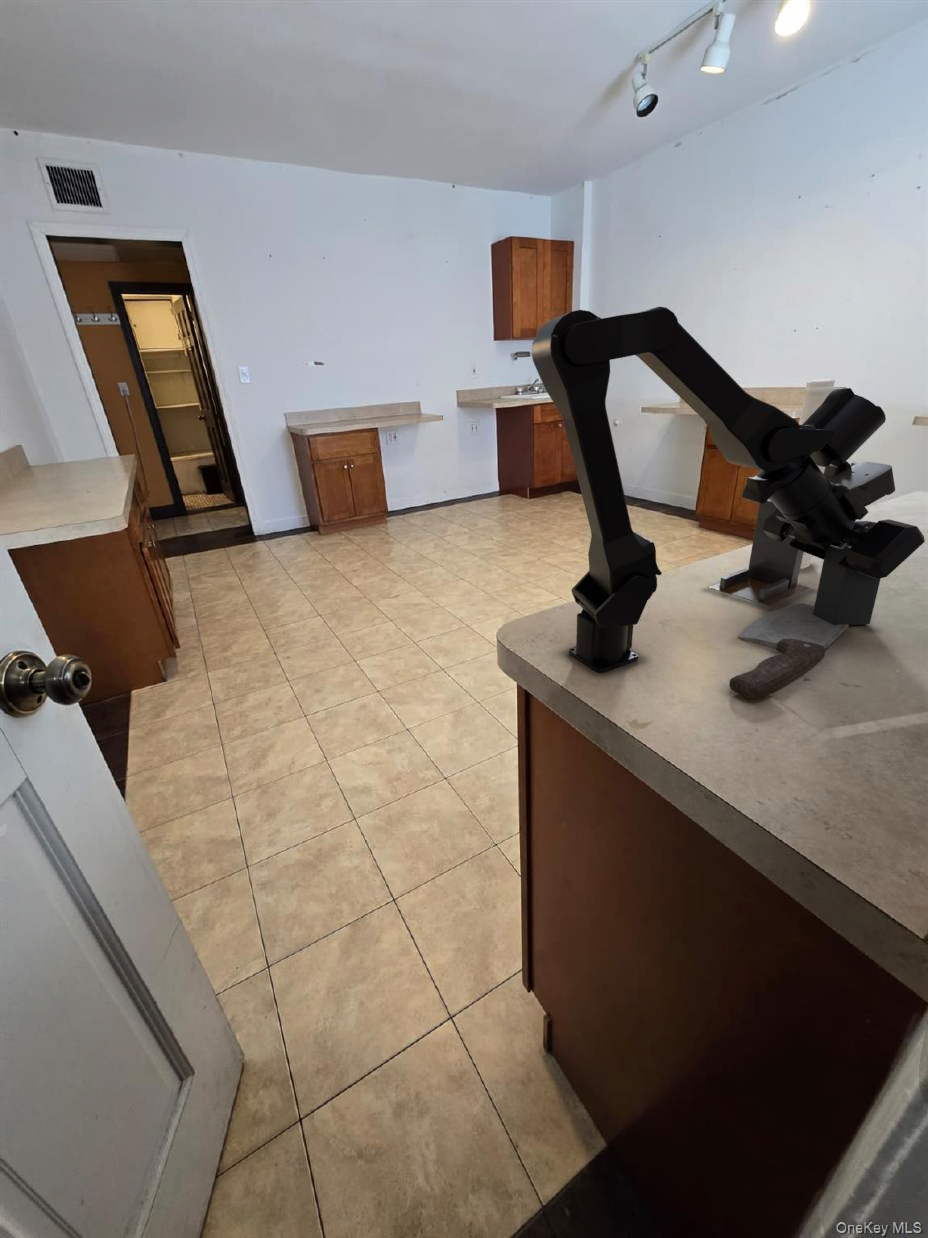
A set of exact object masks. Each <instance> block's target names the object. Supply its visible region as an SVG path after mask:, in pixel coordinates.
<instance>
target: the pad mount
mask: <svg viewBox="0 0 928 1238" xmlns="http://www.w3.org/2000/svg"><path fill="white" fill-rule="evenodd" d="M776 509H777V507H776V506H775V505H774V504H773V502H772V501H771V500H770V499H768V500H767V501H766V502H765V503H764V504H760V503H758V510H757V515H756V523H755V528H754V533H753V538H752V546H751V550H750V551H751V552H750V556H749V562H748V569H747V568H742V569H741V570H738V571H735V572H733V573H729V574H728V575H725V576H722V577H720V581H719V582H718V583H716V584H713V585H710V586H708V589H711V590H715V591H718V592H721V593H725V594H728V595H732V596H734V597H738V598H740V599H745V600H748V601H751V602H754V603H758V604H761V605H764V606H767V607H771V606H773V605H776V604H777V603H780V602H782V601H784V600H786V599H789V598H790V597H793V596H795V595H797V594H799V593H801V592H803V591H806V590H808V589H810V588H811V587H810V586H806V585H802V584H798V581H799V576H800V571H801V569H800V567H801V562H802V558H803V553H804V552H803V551H800V550H798V549H795V548H792V547H790V546H789V543H790V542H791V541H792V540H793V539H792V538H791V537H788V536H786V535H785V534H784V533H785V532H786V531H787V530H788V529H789V528H790V527H791V526H792V525H791V526H790V527H789V528H788V529H787V530H786V531H785V532H784V533H783V534H784V535H785V536H786V537H787V538H786V540H785V541H784V542H783V543H782V542H779V541H777V540H774V539H771V538H769V537H768V535H767V534H766V533H765V532H764V531H763V526H764V521H765V520H766V519H767V518H768V517H769V516H770V515H771V514H772V513H773V512H774V511H775V510H776Z"/></svg>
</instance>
